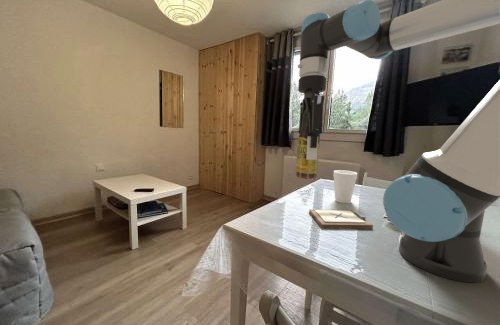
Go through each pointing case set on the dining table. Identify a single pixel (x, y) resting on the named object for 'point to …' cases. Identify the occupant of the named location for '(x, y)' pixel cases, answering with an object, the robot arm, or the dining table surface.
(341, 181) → the foam cup
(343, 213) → the wooden board
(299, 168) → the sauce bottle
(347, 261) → the dining table surface
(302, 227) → the dining table surface
